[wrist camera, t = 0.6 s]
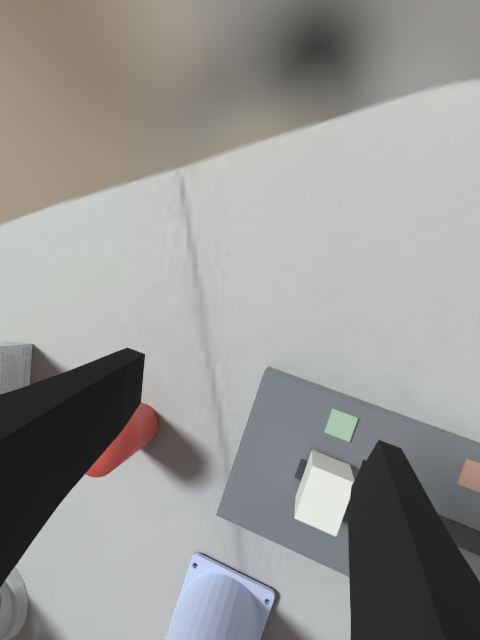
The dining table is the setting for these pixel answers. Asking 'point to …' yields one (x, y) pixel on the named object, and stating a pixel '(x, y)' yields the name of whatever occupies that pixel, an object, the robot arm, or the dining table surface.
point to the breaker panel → (349, 447)
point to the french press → (12, 606)
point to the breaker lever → (324, 493)
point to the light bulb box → (14, 365)
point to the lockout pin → (127, 441)
